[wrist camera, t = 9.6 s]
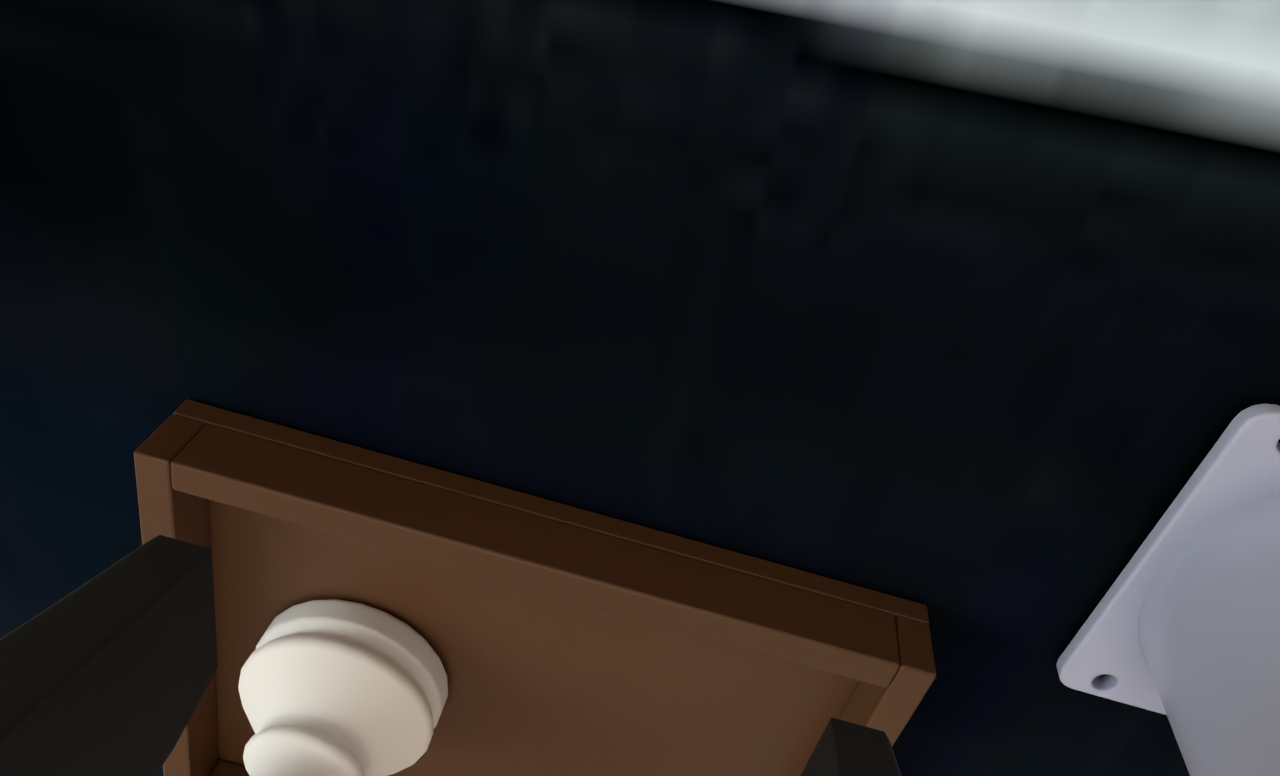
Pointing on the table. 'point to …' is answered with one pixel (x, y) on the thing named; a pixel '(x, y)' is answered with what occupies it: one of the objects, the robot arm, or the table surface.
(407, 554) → the tray
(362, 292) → the table surface
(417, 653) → the chess pawn
